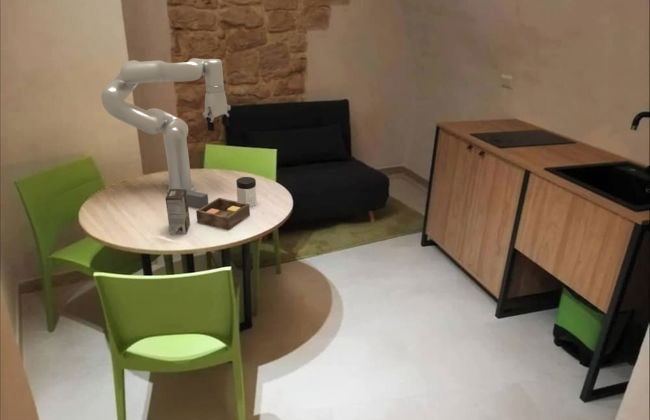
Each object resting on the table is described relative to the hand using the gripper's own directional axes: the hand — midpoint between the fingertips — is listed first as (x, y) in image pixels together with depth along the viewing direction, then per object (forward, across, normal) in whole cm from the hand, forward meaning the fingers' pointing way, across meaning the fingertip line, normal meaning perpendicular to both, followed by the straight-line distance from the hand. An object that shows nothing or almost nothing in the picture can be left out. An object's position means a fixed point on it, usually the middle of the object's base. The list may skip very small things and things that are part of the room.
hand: (218, 128), depth 217 cm
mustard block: (+28, +23, +24) cm, 44 cm away
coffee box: (+29, +42, +13) cm, 53 cm away
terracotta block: (+28, +29, +19) cm, 45 cm away
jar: (+30, +9, +20) cm, 37 cm away
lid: (+30, +22, +3) cm, 37 cm away
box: (+30, +26, +22) cm, 45 cm away
